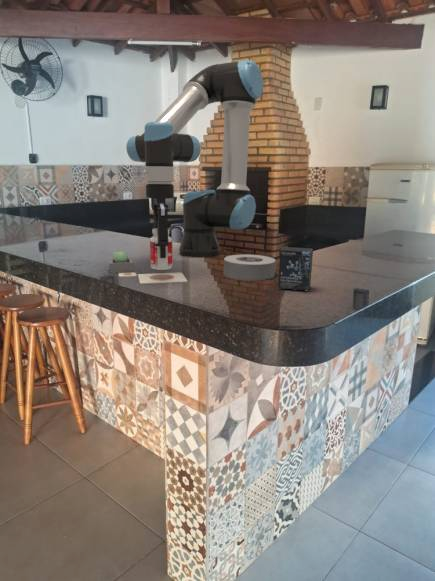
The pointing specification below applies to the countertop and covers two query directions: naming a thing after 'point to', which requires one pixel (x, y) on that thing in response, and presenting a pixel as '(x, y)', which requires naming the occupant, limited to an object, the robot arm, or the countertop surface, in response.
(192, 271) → the countertop surface
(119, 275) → the card
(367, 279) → the countertop surface
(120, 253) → the button cap
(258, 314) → the countertop surface
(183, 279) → the sheet
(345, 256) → the countertop surface
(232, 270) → the tape roll
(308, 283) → the box
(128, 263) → the button base
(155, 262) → the pill bottle
